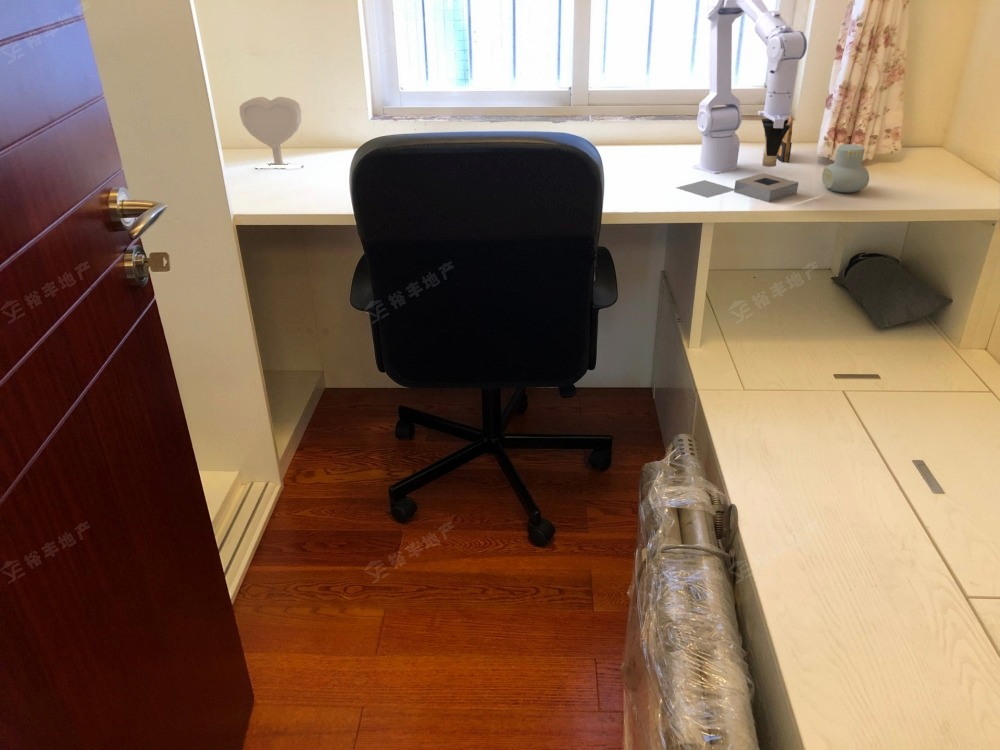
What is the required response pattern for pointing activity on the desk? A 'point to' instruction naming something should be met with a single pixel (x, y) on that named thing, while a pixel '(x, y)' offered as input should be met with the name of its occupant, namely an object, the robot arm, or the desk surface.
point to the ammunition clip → (786, 144)
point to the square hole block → (766, 187)
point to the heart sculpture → (271, 121)
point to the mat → (705, 188)
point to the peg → (768, 158)
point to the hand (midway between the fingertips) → (771, 153)
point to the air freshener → (846, 170)
